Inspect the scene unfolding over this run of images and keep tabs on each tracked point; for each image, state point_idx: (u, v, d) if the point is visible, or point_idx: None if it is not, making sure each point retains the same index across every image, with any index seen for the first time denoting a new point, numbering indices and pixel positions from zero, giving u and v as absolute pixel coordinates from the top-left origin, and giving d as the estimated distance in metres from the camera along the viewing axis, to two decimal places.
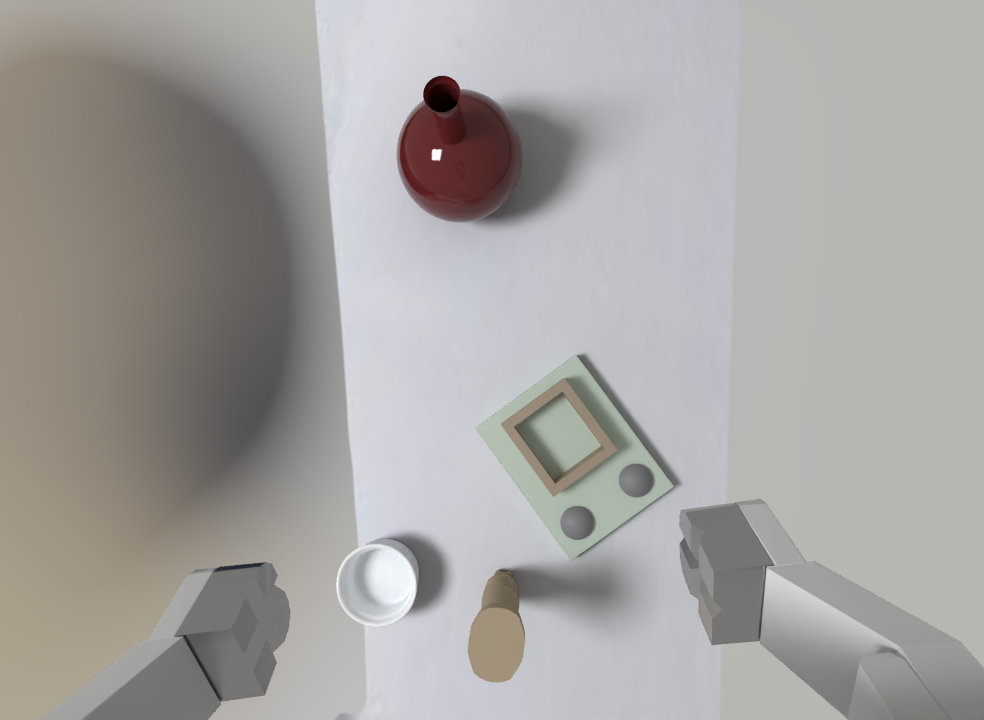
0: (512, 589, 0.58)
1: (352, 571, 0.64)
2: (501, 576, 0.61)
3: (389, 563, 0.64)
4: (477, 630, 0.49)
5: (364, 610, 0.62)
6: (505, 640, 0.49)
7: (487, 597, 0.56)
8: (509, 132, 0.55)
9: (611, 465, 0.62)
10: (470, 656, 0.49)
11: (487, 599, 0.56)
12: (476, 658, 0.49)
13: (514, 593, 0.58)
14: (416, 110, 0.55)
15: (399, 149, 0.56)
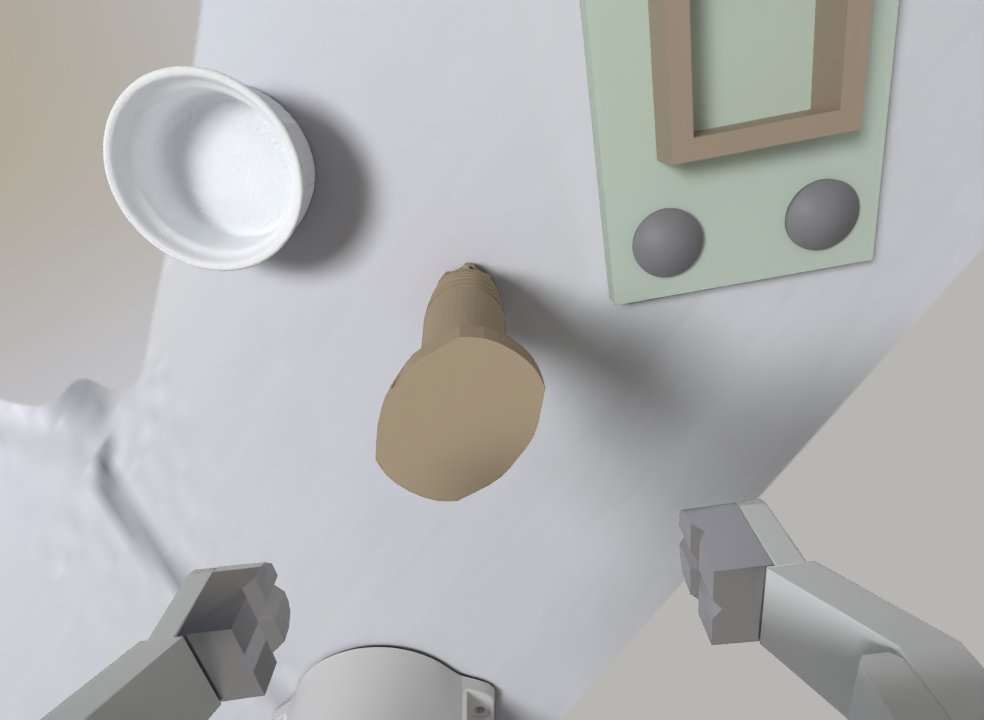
0: (501, 310, 0.26)
1: (160, 126, 0.27)
2: (481, 276, 0.28)
3: (253, 149, 0.28)
4: (426, 376, 0.18)
5: (166, 219, 0.28)
6: (484, 423, 0.19)
7: (451, 305, 0.24)
8: None
9: (800, 162, 0.28)
10: (382, 424, 0.19)
11: (451, 309, 0.24)
12: (395, 434, 0.19)
13: (504, 320, 0.26)
14: None
15: None
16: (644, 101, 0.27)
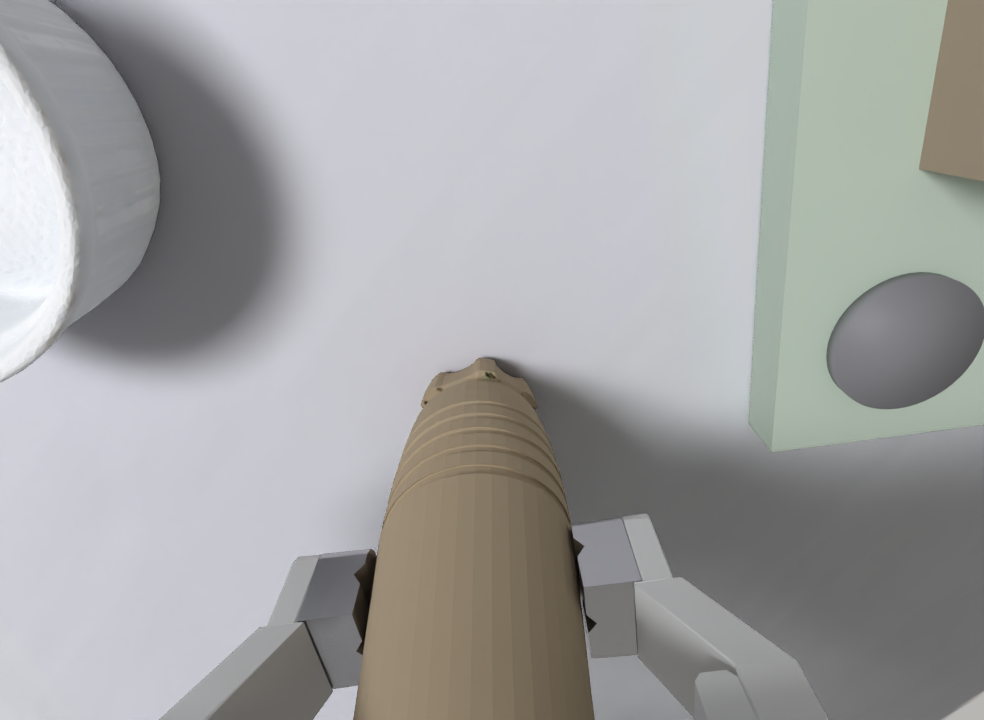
0: (568, 526, 0.11)
1: None
2: (516, 414, 0.13)
3: (8, 114, 0.13)
4: None
5: None
6: None
7: (445, 561, 0.09)
8: None
9: None
10: None
11: (444, 587, 0.08)
12: None
13: None
14: None
15: None
16: (921, 28, 0.11)
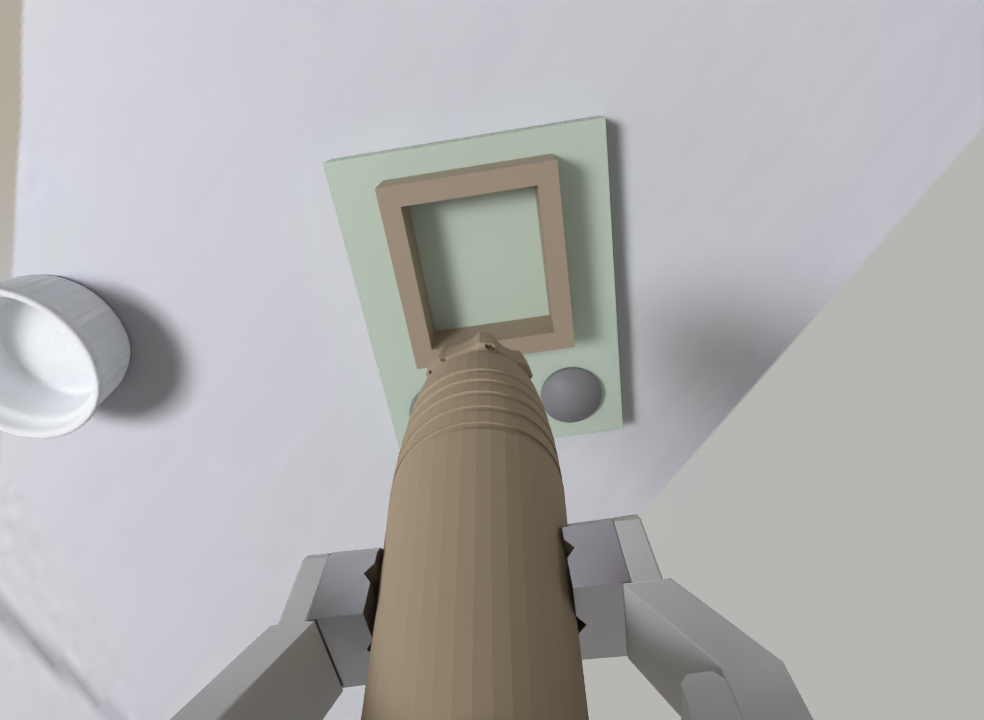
0: (559, 476, 0.12)
1: None
2: (513, 380, 0.14)
3: None
4: None
5: None
6: None
7: (450, 499, 0.10)
8: None
9: (547, 354, 0.33)
10: None
11: (450, 520, 0.10)
12: None
13: (564, 500, 0.12)
14: None
15: None
16: None
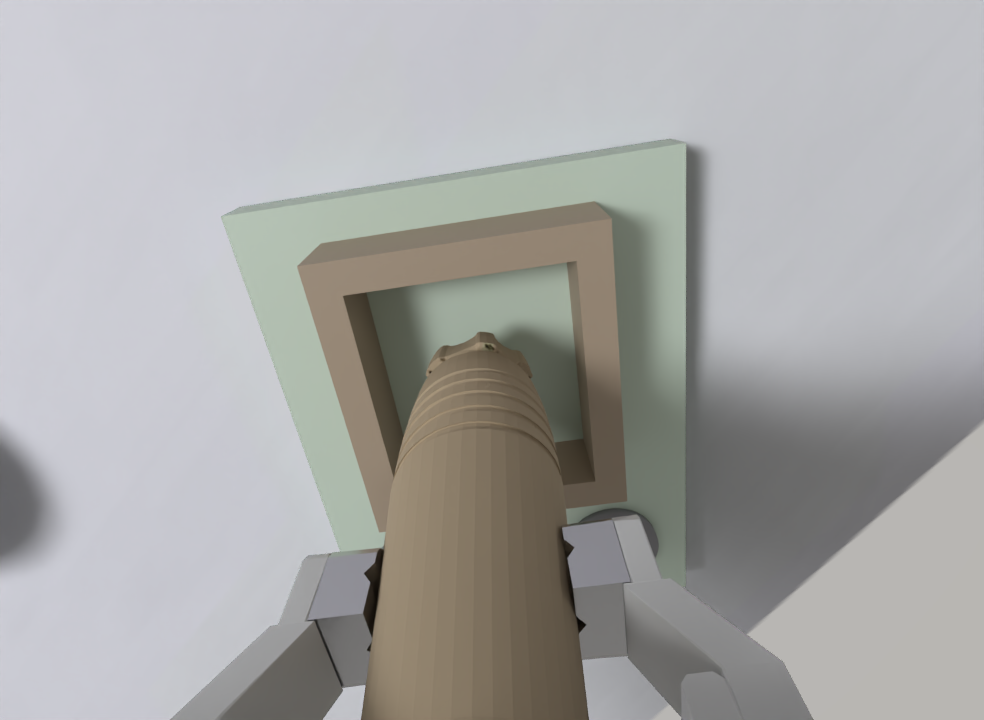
0: (559, 476, 0.12)
1: None
2: (513, 380, 0.14)
3: None
4: None
5: None
6: None
7: (450, 499, 0.10)
8: None
9: None
10: None
11: (450, 519, 0.10)
12: None
13: (564, 500, 0.12)
14: None
15: None
16: None
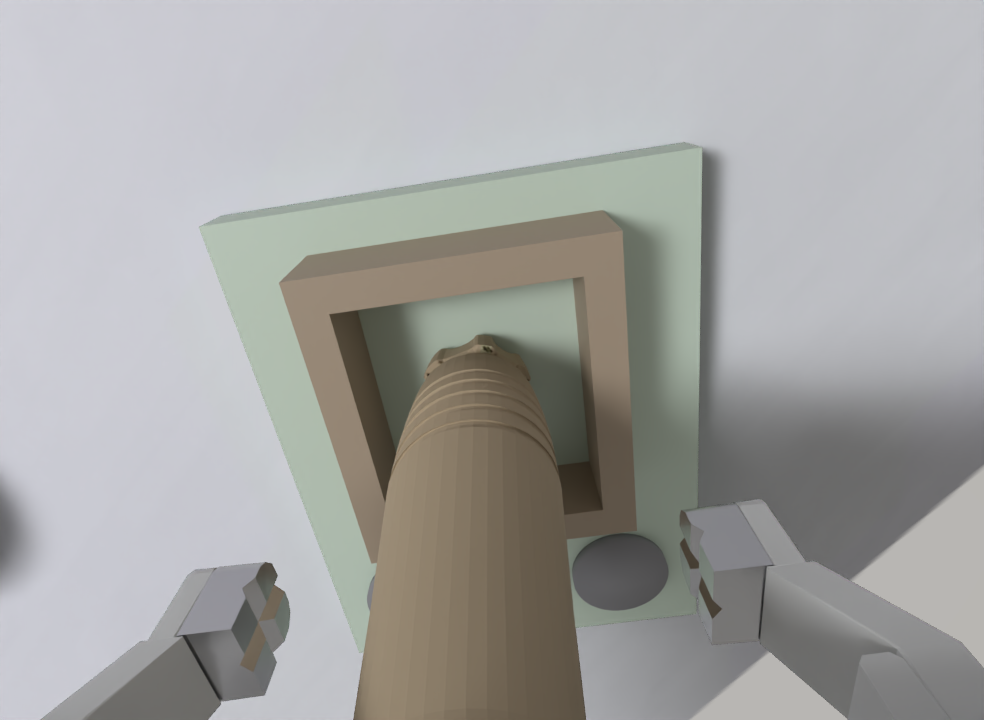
0: (556, 475, 0.12)
1: None
2: (510, 381, 0.14)
3: None
4: None
5: None
6: None
7: (446, 495, 0.10)
8: None
9: None
10: None
11: (446, 515, 0.10)
12: None
13: (562, 499, 0.12)
14: None
15: None
16: None
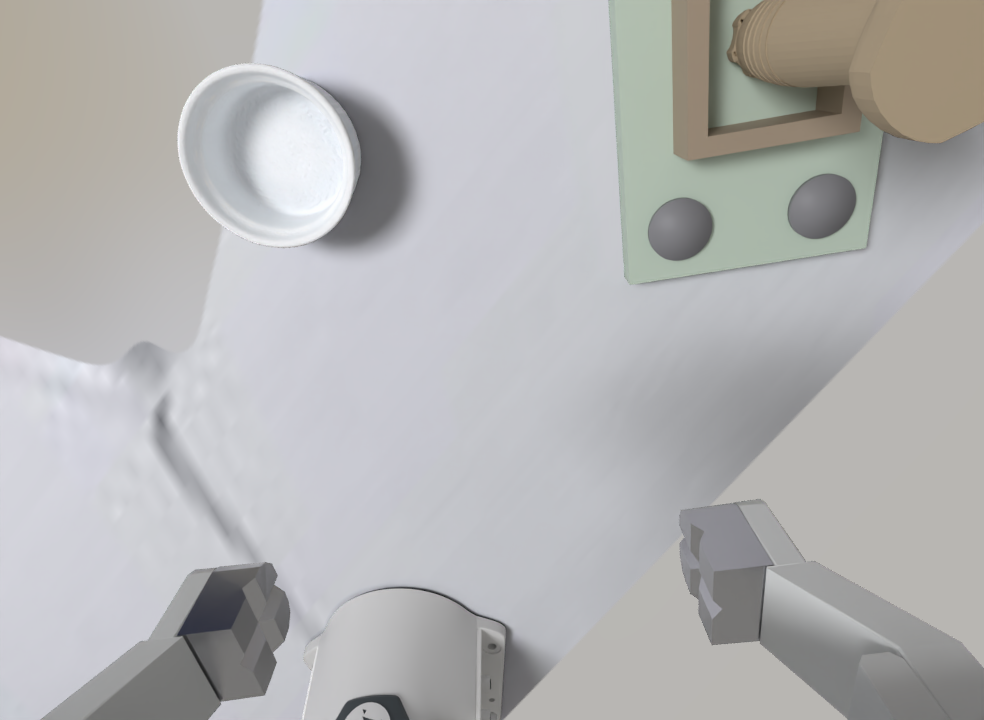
0: None
1: (223, 115, 0.30)
2: None
3: (306, 136, 0.31)
4: None
5: (229, 200, 0.31)
6: None
7: None
8: None
9: (804, 158, 0.31)
10: (900, 15, 0.15)
11: None
12: (909, 32, 0.15)
13: None
14: None
15: None
16: (664, 100, 0.30)
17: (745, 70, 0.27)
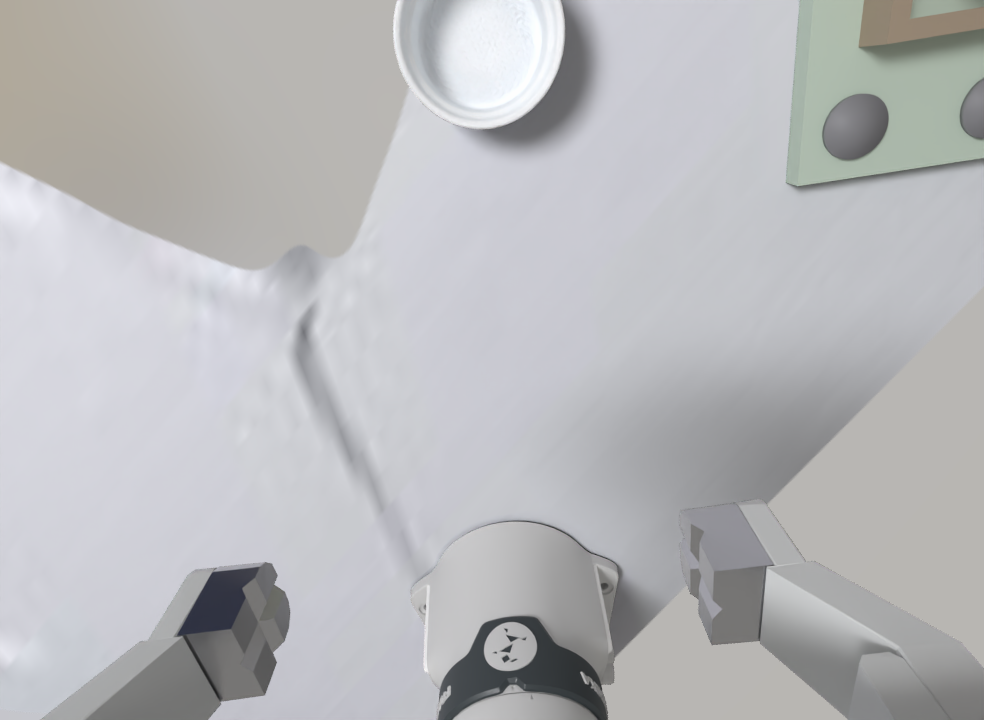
0: None
1: None
2: None
3: (499, 24, 0.32)
4: None
5: (427, 82, 0.31)
6: None
7: None
8: None
9: (983, 54, 0.32)
10: None
11: None
12: None
13: None
14: None
15: None
16: None
17: None
